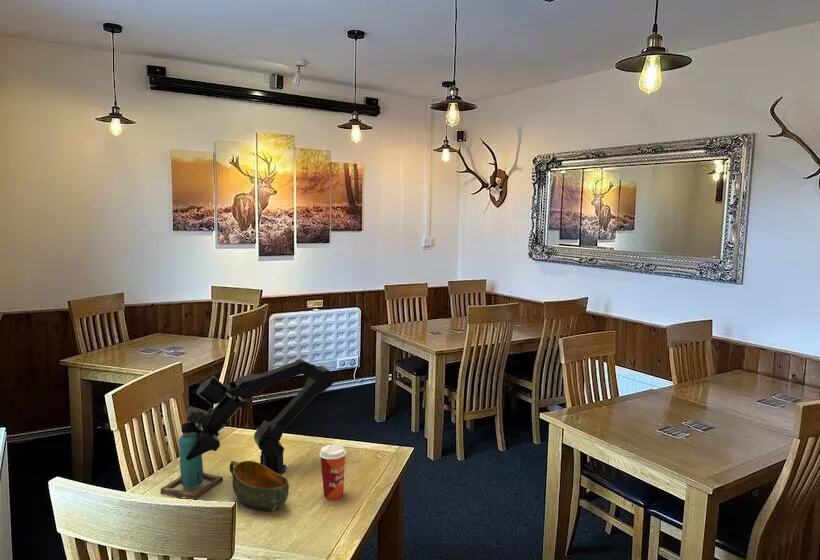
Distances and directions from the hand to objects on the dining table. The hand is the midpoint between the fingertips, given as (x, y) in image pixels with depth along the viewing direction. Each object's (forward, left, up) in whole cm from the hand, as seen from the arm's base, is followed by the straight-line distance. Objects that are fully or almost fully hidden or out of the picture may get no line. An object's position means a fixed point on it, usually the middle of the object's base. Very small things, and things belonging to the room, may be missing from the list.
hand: (185, 454), depth 164 cm
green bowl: (-25, -1, -11) cm, 27 cm away
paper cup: (-43, -12, -11) cm, 46 cm away
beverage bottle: (-1, -1, -11) cm, 11 cm away
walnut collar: (-1, -1, -11) cm, 11 cm away
